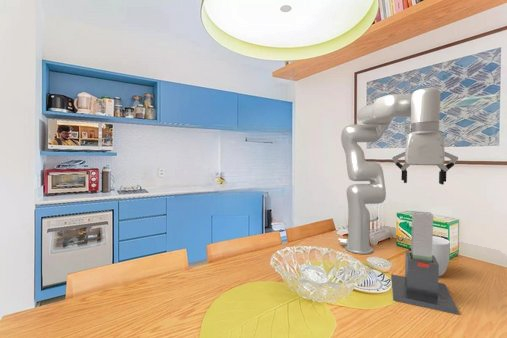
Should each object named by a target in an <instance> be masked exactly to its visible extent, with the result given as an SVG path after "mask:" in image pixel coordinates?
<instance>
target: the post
mask: <svg viewBox="0 0 507 338" xmlns="http://www.w3.org/2000/svg"><path fill="white" fill-rule="evenodd" d="M411 214H412V215H411V245H410V246H411V247H410V252H411V259H413V260H419V261H426V262H432V242H433V236H434V235H433V234H434V233H433V231H434V230H433V229H434V214H432V213H431V212H430V211H429V212H428V211H415V210H412V212H411Z"/></svg>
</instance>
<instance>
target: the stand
mask: <svg viewBox="0 0 507 338" xmlns="http://www.w3.org/2000/svg"><path fill="white" fill-rule="evenodd" d="M404 256H405V257H404V258H405V260H404V261H405V262H404V264H405V266H404V268H405V269H404V276H403V275H399V274H390V275H391V277H390V279H391V280H390V281H392V282H391V291H392V292H391V294H392V301H395V302H400V303H403V304H408V305H414V306H417V307H422V308H427V309H430V310H436V311H440V312H445V313H449V314H452V315H453V314H454V315H458V314H459V308H458V306H457V305H456V302H455V300H454V298H453V297H452V295H451V293H450V291H449V289H448V287H447V285H446V284H445V283H442V282H439V277H440V276H439V264H438V262H437V260H436V259H435V257H434V255H432V262H426V261H419V260H413V259H411V251H405V255H404ZM438 276H439V277H438Z"/></svg>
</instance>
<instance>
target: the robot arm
mask: <svg viewBox="0 0 507 338" xmlns="http://www.w3.org/2000/svg"><path fill="white" fill-rule="evenodd" d="M440 111H441V91H440V90H439V89H438V88H436V87H426V88H425V87H424V88H420V89H417V90H415V91H413V92H412V94H410V93H409V94H408V93H407V94H406V93H404V94H398V93H394V94H393V93H392V94H386V95H383V96H380V97H378V98H376V99H375V100H374V102H373V103H369V104H367V105H364V106H362V107H361V108H360V109H359V110H358V111H357V115H356V119H357V121H359V122H360V123H361V124H359V123H358V124H348V125H346V126H344V127H343V129H342V131H341V135H340V136H341V137H340V139H341V140H340V141H341V145H342V148H343V151H344V153H345V154H344V155H345V160H346V162H345V163H346V170H347V176H348V179H349V180H350V181H353V182H369V183H354V184H350V185H349V186H348V187H347V188H346V199H347V207H348V209H347V213H348V220H347V221H348V225H347V226H348V227H347V232H348V233H347V238H340V237H339V238H338V243H340V244H343V245H344V249H345V250H346V251H347V252H350V253H354V254H358V255H368V254H371V253H374V249H373V247H372V246H370V241H371V240H370V236H371V235H370V233H371V232H370V231H371V226H370V225H371V223H370V222H371V214H370V211H369V209H368V208H367V206H366V205H368V204H370V205H373V204H376V205H377V204H382V203H384V201H386V197H387V192H386V184H385V177H384V175H385V174H384V171H383V167H382V166H381V164H380V163H378V162H376V161H367V160H366V156H365V153H364V150H363V149H362V147H361V146H360V145H359V144H358V143H376V142H379V141H380V139H382V137H383V135H384V134H385V132H386V130H388V128H389V126H390V125H391V123H392V121H393V118H398V117H399V118H410V125H408V126H404V127H405V128H404V131H406V132H407V131H408V132H409V133H408V134H407V136H406V143H405V148H404V149H405V151H403V152H401V153H399V154H397V155H394V156H392V160H393V163H394V164H395V166H396V167H397V168H399V169H400V170H401V181H403V184H407V183H408V171H407V169H408V168H409V167H410V166H437V167H438V168H439V170H440V171H439V172H438V183H439V184H440V185H443V186H444V184H445V182H447V172H448V171H449V170H450V169H451V168H453V167H454V166H455V165H456V162H458V160H459V156H457V155H453V154H451V153H449V152H447V151H445V142H444V135H443V132H440V116H441V115H440V113H441V112H440ZM403 157H404V164H401V163H400V161H399V159H401V158H403ZM446 158H447V159H450V160H449V162H448V163H447V164H445V160H446Z"/></svg>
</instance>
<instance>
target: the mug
mask: <svg viewBox="0 0 507 338" xmlns="http://www.w3.org/2000/svg"><path fill="white" fill-rule="evenodd" d="M432 255H434V257H435V259H436V260H437V262H438V264H439V276H438V278H439V277H442V276H443V275H444V274H445V273H446V271H447V269H448V266H449V264H450V263H449V262H450V256H451V242H450V240H448V239H446V238H443V237H439V236H434V235H433V242H432Z"/></svg>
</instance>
